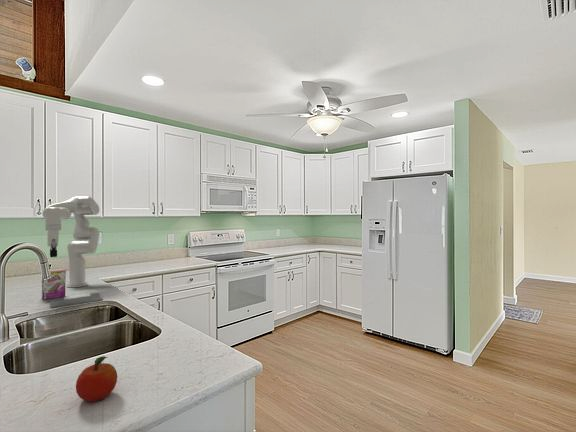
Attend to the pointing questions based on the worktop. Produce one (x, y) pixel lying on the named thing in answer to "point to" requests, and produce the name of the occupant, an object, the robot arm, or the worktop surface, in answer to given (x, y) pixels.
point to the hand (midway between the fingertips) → (53, 256)
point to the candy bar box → (54, 285)
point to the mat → (74, 300)
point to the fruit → (96, 381)
